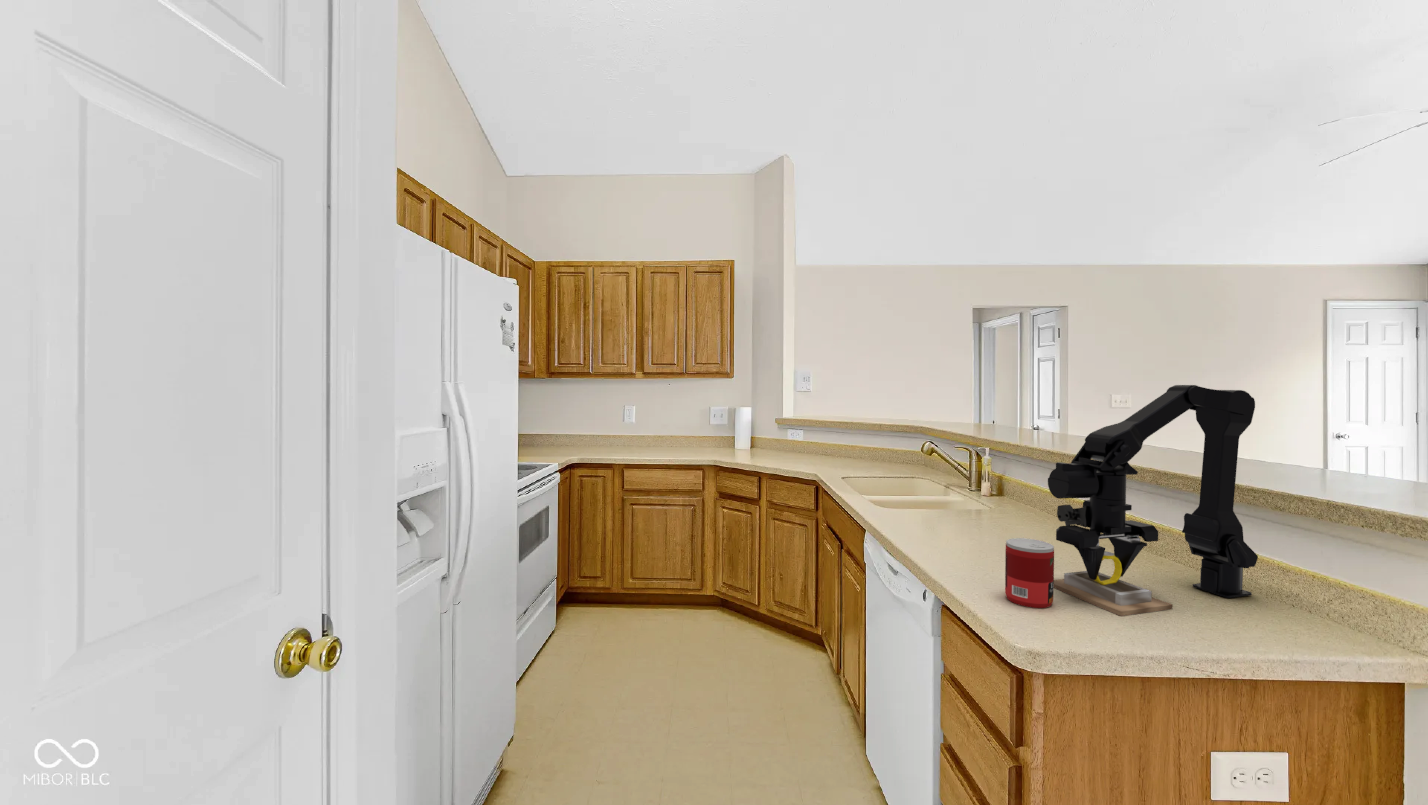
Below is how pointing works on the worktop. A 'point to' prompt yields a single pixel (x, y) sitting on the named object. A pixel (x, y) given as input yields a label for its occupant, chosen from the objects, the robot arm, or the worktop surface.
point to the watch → (1117, 569)
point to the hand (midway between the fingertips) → (1105, 577)
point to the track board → (1110, 594)
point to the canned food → (1029, 572)
